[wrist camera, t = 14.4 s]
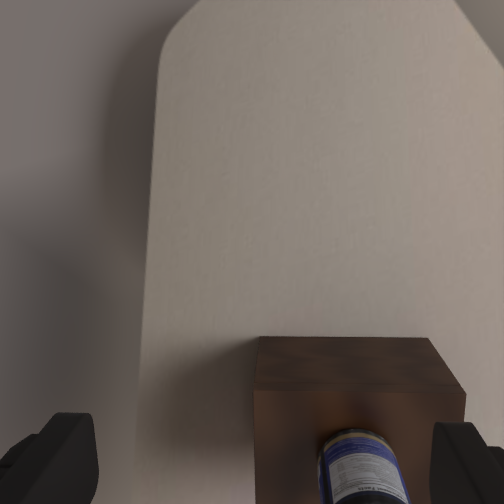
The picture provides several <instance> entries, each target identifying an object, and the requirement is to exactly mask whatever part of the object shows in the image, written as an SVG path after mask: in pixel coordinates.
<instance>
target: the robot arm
mask: <svg viewBox="0 0 504 504" xmlns="http://www.w3.org/2000/svg"><path fill="white" fill-rule="evenodd" d="M98 475H99V468H98V459H97V450H96V441H95V433H94V424H93V419H92V417H91V415H90V414H89V413H60V412H59V413H56V414H55V415H54V416H53V417H52V418H51V419H50V420H49V422H48V423H47V424H46V425H45V427H44V428H43V429H42V430H41V431H40V433H39V434H31V435H29V436H28V437H26V438H25V439H24V440H22V441H21V442H19V443H17V444H16V445H14V446H13V447H12V448H10V449H9V451H8V452H7V453H6V454H5V455H4V456H3V458H2V459H1V460H0V504H90V503H91V501H92V499H93V497H94V495H95V492H96V488H97V484H98V477H99V476H98ZM429 491H430V498H431V503H432V504H504V450H503V449H502V448H501V447H495V446H487V445H486V443H485V442H484V440H483V439H482V437H481V435H480V434H479V432H478V431H477V429H476V428H475V426H474V425H473V424H472V423H471V422H435V424H434V428H433V437H432V449H431V462H430V474H429Z"/></svg>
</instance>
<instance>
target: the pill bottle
mask: <svg viewBox="0 0 504 504" xmlns="http://www.w3.org/2000/svg"><path fill="white" fill-rule="evenodd" d="M317 470H318V482H319V493H320V503H321V504H411V501H410V498H409V495H408V492H407V489H406V486H405V483H404V480H403V478H402V475H401V472H400V469H399V466H398V463H397V460H396V457H395V455H394V453H393V450H392V448H391V446H390V445H389V444H388V442H387V441H386V440H385V439H384V438H383V437H381V436H379V435H378V434H376V433H373V432H371V431H368V430H365V429H346V430H343V431H340V432H338V433H336V434H334V435H333V436H331V437H330V438H329V439H328V440H327V441H326V442H325V444H324V445H323V447H322V448H321V450H320V452H319V454H318V459H317Z"/></svg>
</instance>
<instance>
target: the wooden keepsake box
mask: <svg viewBox="0 0 504 504" xmlns="http://www.w3.org/2000/svg"><path fill="white" fill-rule="evenodd" d="M465 404H466V393H465V391H464V390H463V388H462V387H461V385H460V384H459V382H458V381H457V379H456V378H455V376H454V375H453V374H452V372H451V371H450V369H449V368H448V366H447V365H446V363H445V362H444V360H443V359H442V358H441V356H440V355H439V353H438V352H437V350H436V349H435V347H434V346H433V344H432V343H431V342H430V340H429V339H428V338H384V337H269V336H260V340H259V347H258V355H257V362H256V370H255V378H254V385H253V418H254V459H255V500H256V504H321V503H320V493H319V482H318V470H317V459H318V454H319V452H320V450H321V448H322V447H323V445H324V444H325V442H326V441H327V440H328V439H329V438H330V437H331V436H333V435H334V434H336V433H338V432H340V431H343V430H346V429H365V430H368V431H371V432H373V433H376V434H378V435H379V436H381V437H383V438H384V439H385V440H386V441H387V442H388V444H389V445H390V446H391V448H392V450H393V453H394V455H395V457H396V460H397V463H398V466H399V469H400V472H401V475H402V478H403V480H404V483H405V486H406V489H407V492H408V495H409V498H410V501H411V504H432V503H431V498H430V491H429V474H430V462H431V449H432V437H433V428H434V424H435V422H464V414H465Z"/></svg>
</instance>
